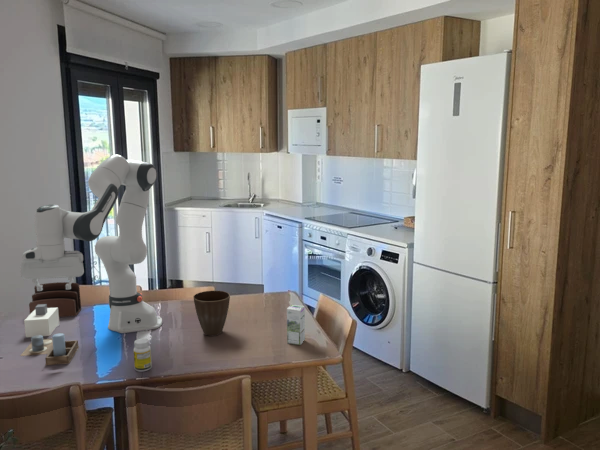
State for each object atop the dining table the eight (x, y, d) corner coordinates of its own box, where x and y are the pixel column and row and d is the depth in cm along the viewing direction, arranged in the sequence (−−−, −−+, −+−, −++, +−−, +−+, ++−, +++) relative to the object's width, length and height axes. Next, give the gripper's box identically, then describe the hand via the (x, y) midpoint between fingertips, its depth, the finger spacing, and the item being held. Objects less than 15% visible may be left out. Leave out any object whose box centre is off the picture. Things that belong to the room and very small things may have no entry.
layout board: (60, 340, 210) (59, 325, 209) (49, 356, 194) (47, 340, 193) (33, 341, 208) (32, 327, 207) (20, 358, 192) (18, 342, 191)
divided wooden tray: (79, 349, 201) (78, 340, 200) (69, 365, 186) (68, 356, 185) (56, 350, 199) (56, 341, 198) (45, 367, 184) (44, 357, 184)
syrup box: (305, 340, 208) (305, 305, 206) (300, 345, 203) (300, 309, 200) (291, 338, 210) (291, 303, 208) (286, 343, 205) (286, 308, 202)
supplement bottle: (136, 365, 186) (135, 337, 184) (153, 364, 186) (151, 337, 185) (132, 372, 180) (131, 344, 179) (149, 371, 181) (148, 343, 179)
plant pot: (238, 332, 217) (237, 295, 215) (209, 342, 207) (208, 303, 204) (216, 323, 228) (215, 288, 225) (187, 333, 217) (185, 296, 214)
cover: (59, 325, 227) (57, 299, 225) (49, 337, 212) (47, 310, 210) (37, 326, 225) (34, 300, 223) (26, 339, 211) (23, 312, 209)
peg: (67, 356, 191) (65, 333, 189) (64, 360, 187) (62, 337, 186) (55, 357, 190) (53, 333, 189) (52, 361, 186) (50, 337, 185)
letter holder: (37, 312, 245) (34, 283, 243) (81, 309, 248) (79, 280, 246) (30, 319, 235) (27, 289, 233) (76, 316, 239) (74, 286, 236)
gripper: (84, 248, 187) (87, 285, 189) (23, 250, 183) (26, 289, 186) (80, 252, 181) (83, 290, 183) (16, 254, 177) (20, 294, 180)
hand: (54, 289), depth 184 cm, fingers open, 8 cm apart
